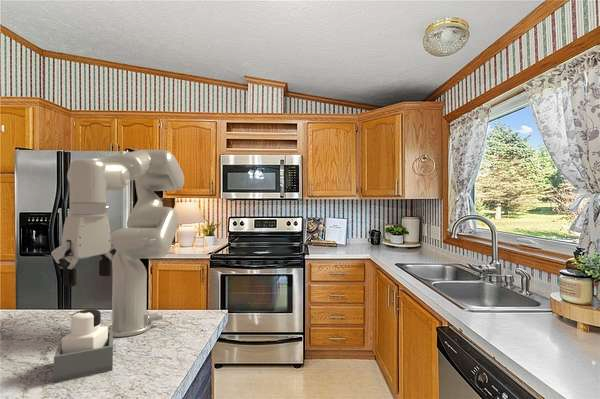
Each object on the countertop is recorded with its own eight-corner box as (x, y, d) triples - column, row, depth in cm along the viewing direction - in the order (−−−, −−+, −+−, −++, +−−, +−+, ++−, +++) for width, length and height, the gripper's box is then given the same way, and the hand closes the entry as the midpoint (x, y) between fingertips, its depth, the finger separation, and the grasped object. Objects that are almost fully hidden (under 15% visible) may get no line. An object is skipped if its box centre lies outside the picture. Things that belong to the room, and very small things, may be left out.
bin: (112, 351, 87) (113, 330, 87) (112, 370, 78) (112, 346, 78) (60, 361, 82) (61, 339, 82) (53, 382, 72) (53, 357, 72)
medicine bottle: (78, 355, 83) (79, 307, 83) (108, 354, 84) (108, 306, 84) (60, 369, 76) (61, 316, 76) (93, 368, 76) (93, 315, 77)
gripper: (105, 209, 90) (105, 271, 90) (40, 211, 73) (40, 288, 73) (128, 209, 88) (128, 273, 88) (66, 212, 71) (66, 291, 71)
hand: (88, 280), depth 81 cm, fingers open, 9 cm apart
